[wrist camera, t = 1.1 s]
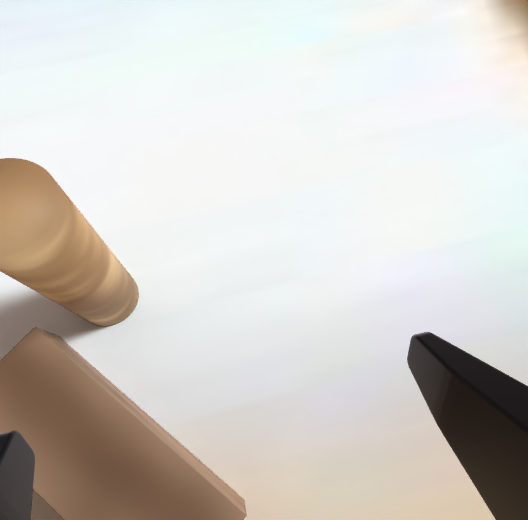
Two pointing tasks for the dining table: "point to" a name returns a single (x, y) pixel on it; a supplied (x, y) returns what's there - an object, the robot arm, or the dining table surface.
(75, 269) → the oak rod
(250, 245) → the dining table surface
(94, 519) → the block
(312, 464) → the dining table surface
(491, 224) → the dining table surface
